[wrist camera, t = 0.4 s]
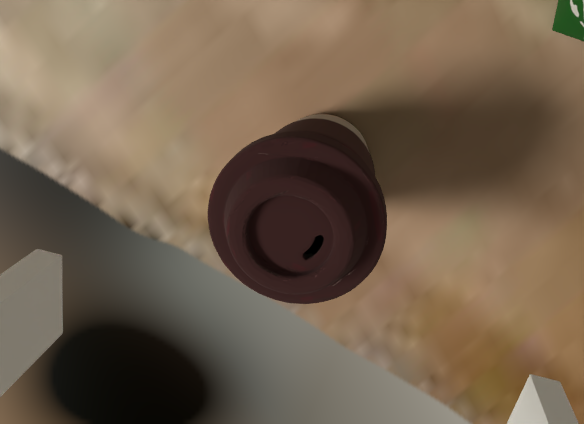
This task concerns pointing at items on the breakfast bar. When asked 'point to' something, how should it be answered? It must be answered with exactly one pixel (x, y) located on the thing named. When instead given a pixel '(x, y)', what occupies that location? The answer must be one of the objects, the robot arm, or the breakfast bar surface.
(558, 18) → the milk carton
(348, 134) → the coffee cup
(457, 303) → the breakfast bar surface
